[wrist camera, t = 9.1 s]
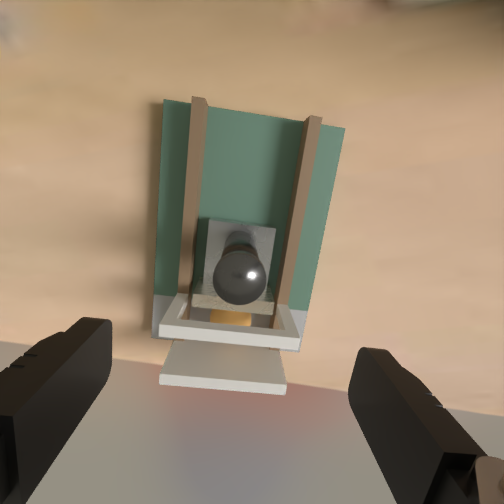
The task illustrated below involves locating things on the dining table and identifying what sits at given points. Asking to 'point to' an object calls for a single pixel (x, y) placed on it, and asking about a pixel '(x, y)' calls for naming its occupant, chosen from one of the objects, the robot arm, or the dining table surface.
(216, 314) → the ball
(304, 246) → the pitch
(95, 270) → the dining table surface
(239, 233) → the slider
